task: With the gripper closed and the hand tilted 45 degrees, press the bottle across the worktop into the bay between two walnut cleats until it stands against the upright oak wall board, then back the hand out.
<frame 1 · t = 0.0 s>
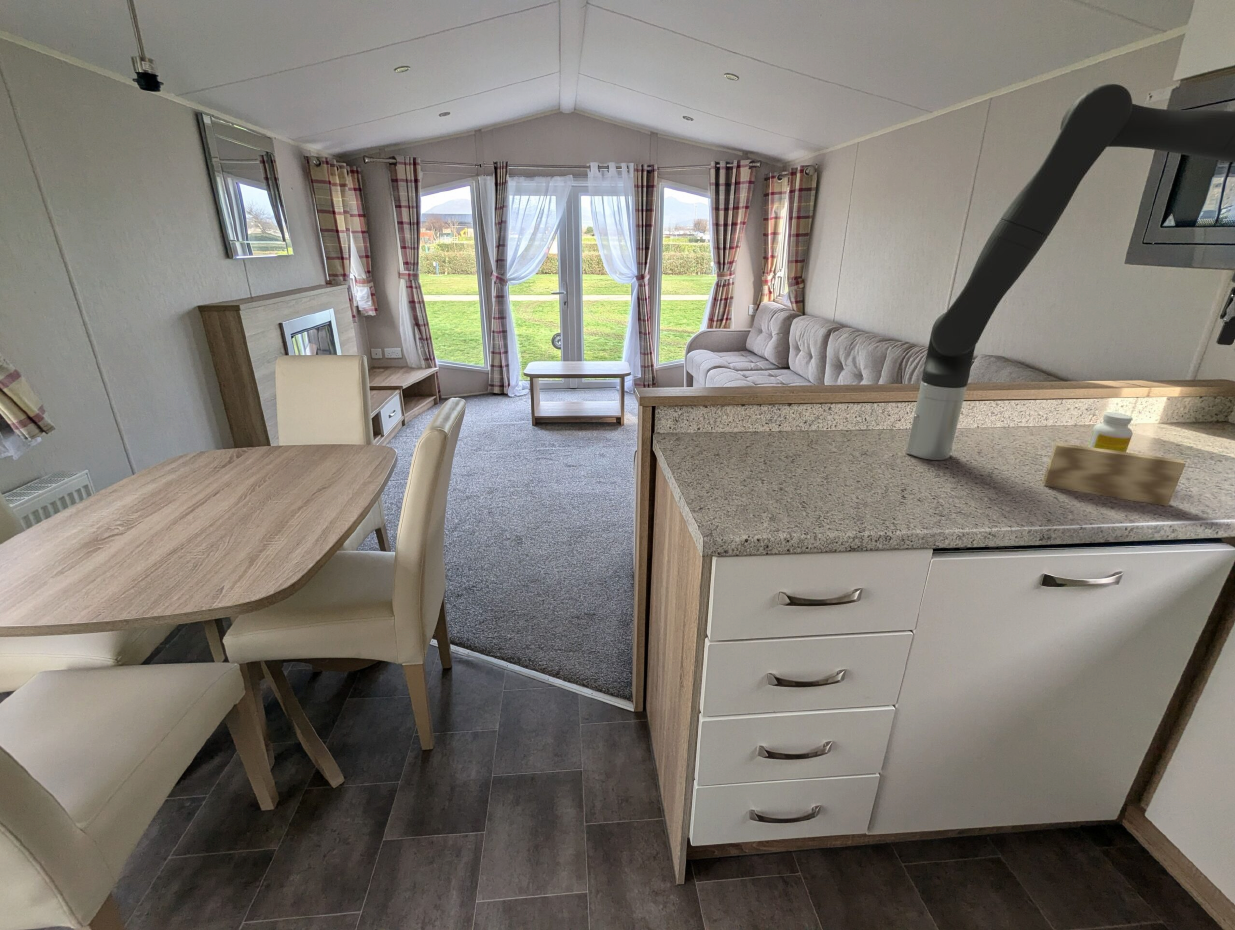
hand: (1232, 348, 106), 29 cm above the worktop, tool pointing down, fingers open, 8 cm apart
wall board: (1102, 493, 116), on the worktop
supplement bottle: (1098, 471, 127), on the worktop
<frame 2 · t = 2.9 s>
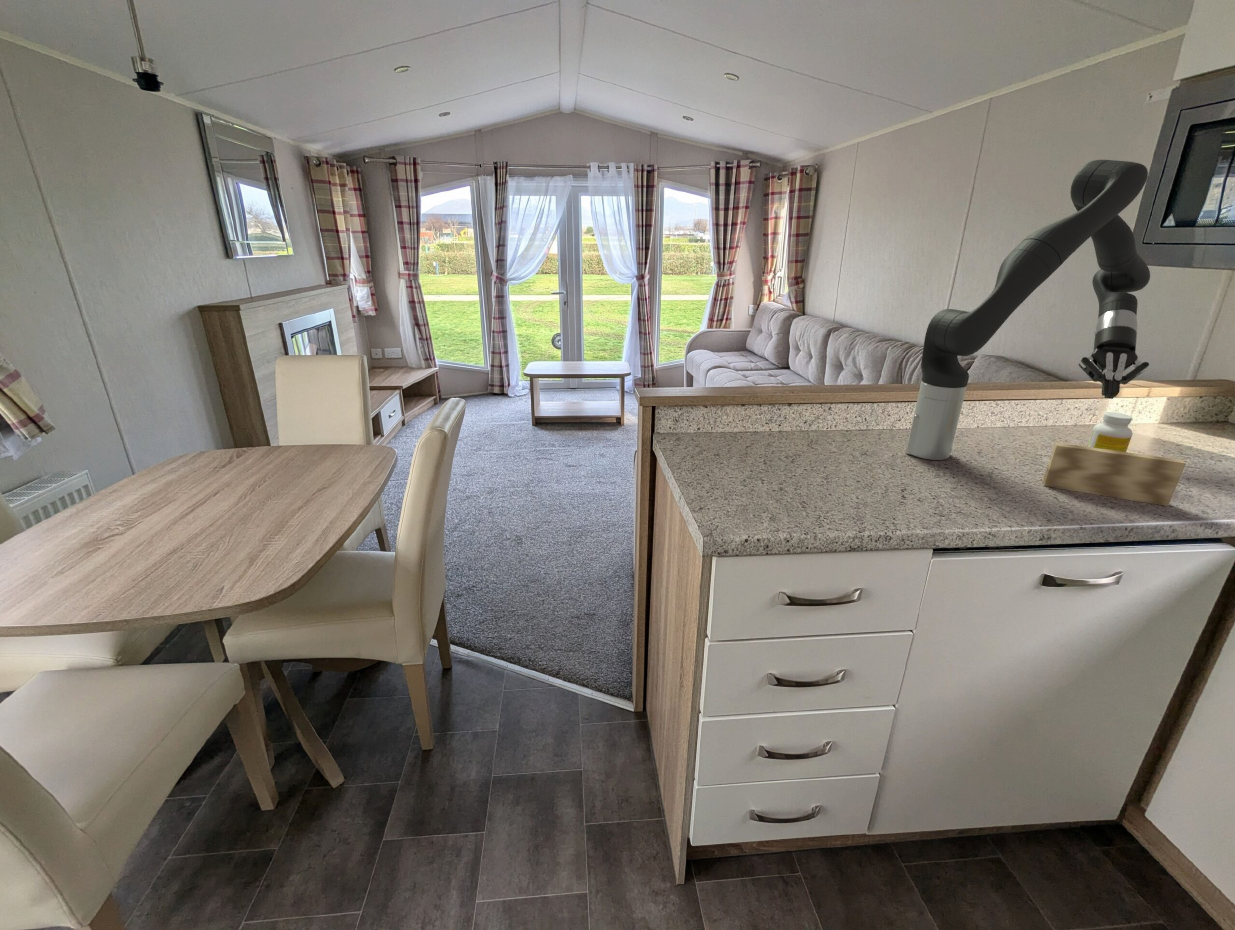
hand: (1110, 396, 130), 14 cm above the worktop, tool tilted 45°, fingers closed
nothing on the worktop moved.
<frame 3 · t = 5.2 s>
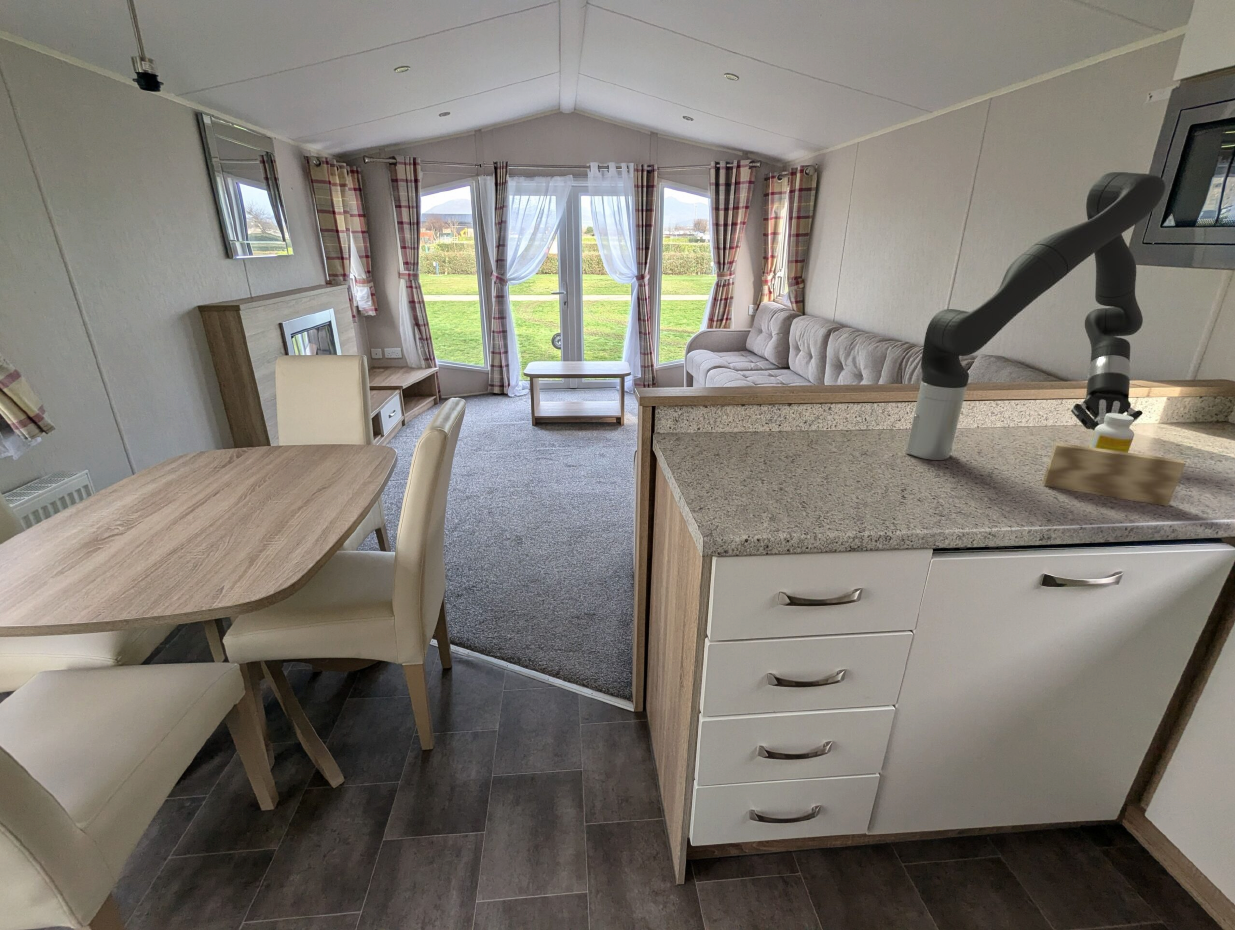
hand: (1103, 445, 128), 5 cm above the worktop, tool tilted 45°, fingers closed
supplement bottle: (1099, 472, 126), on the worktop, touching gripper
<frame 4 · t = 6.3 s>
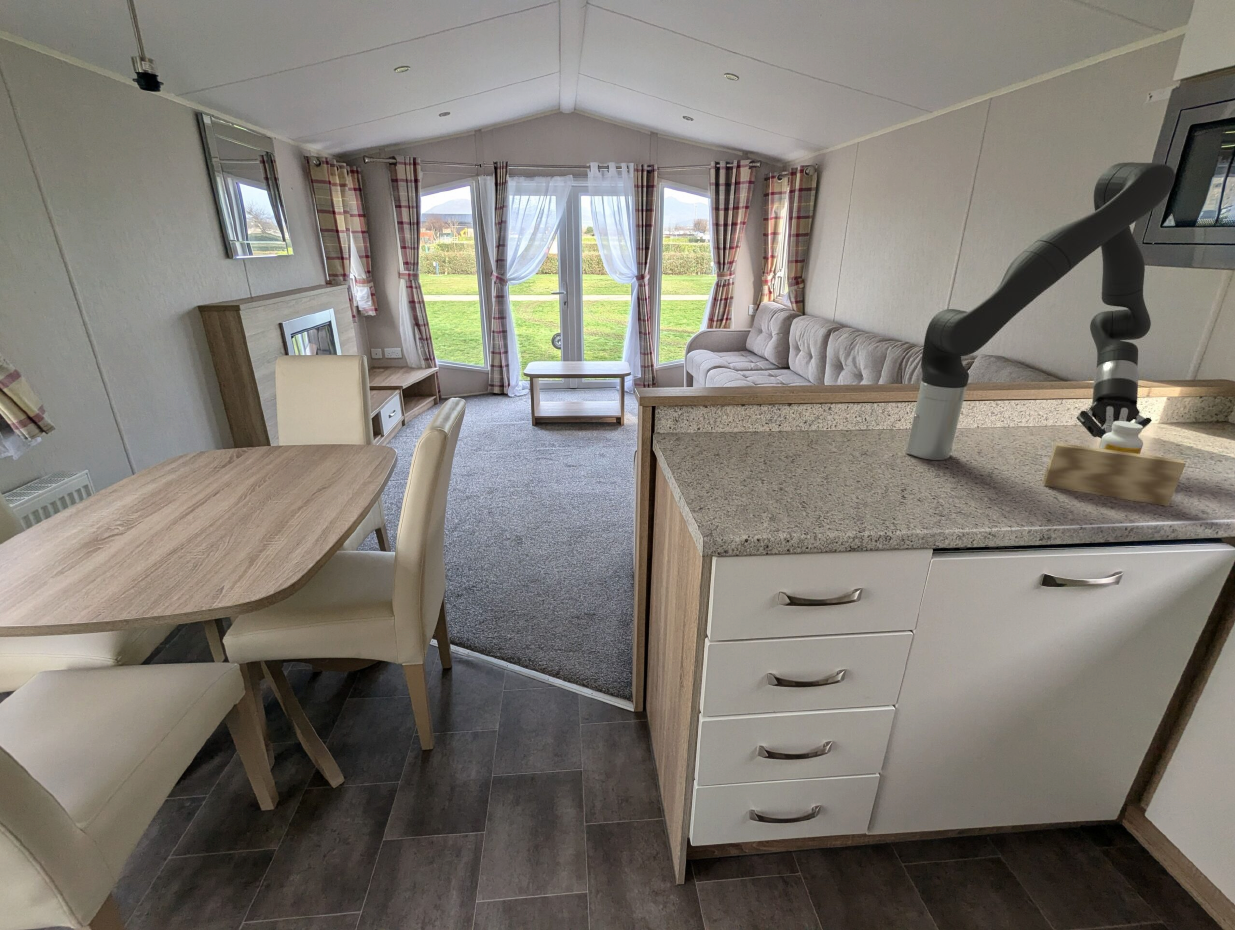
hand: (1110, 454, 123), 5 cm above the worktop, tool tilted 45°, fingers closed
supplement bottle: (1107, 482, 121), on the worktop, touching gripper
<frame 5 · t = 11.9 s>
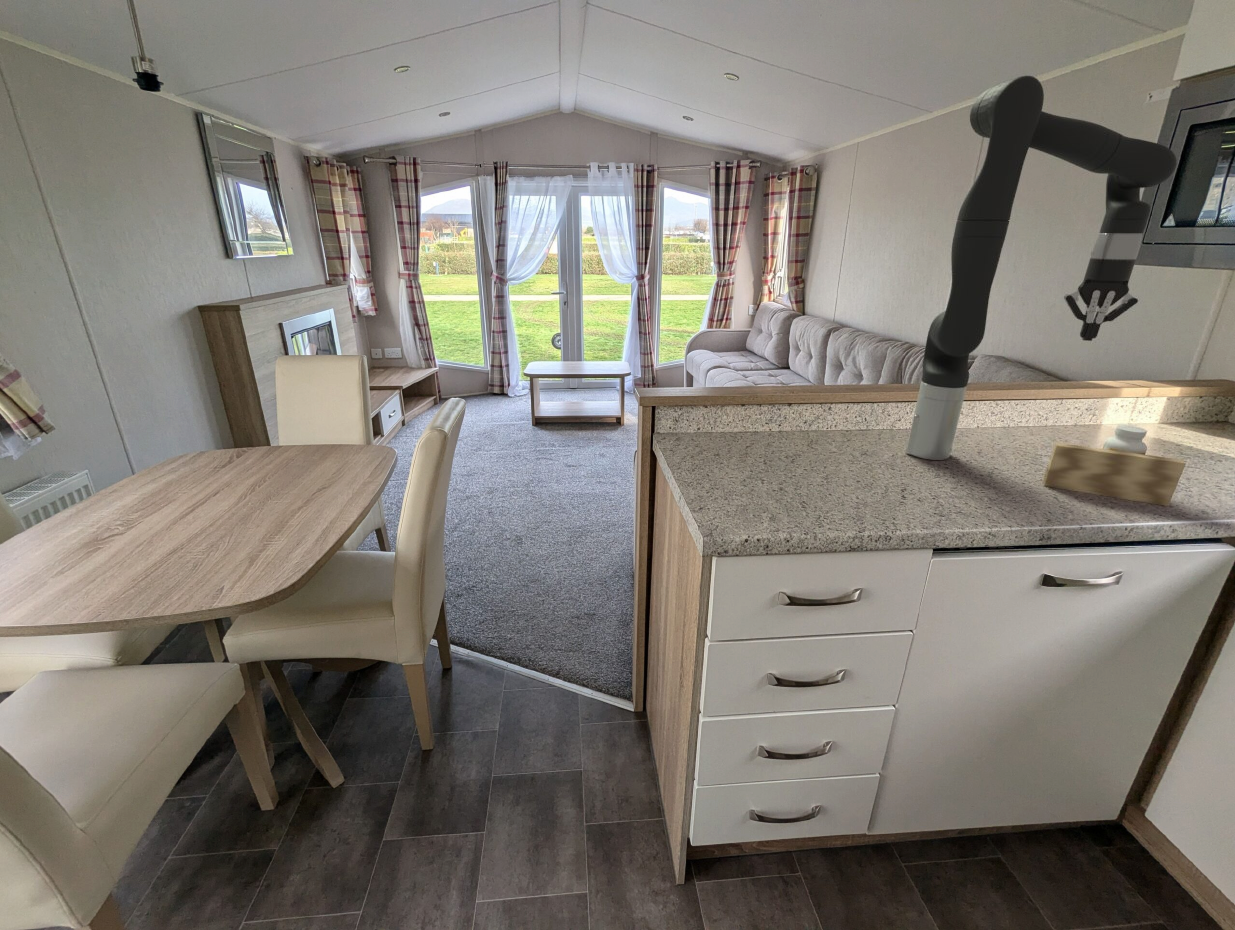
hand: (1086, 340, 126), 27 cm above the worktop, tool pointing down, fingers closed
supplement bottle: (1110, 487, 119), on the worktop
at the end: supplement bottle inside the target area (0.9 cm from its centre), on the worktop; supplement bottle tilted 0°; supplement bottle moved 9.9 cm from its start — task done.
